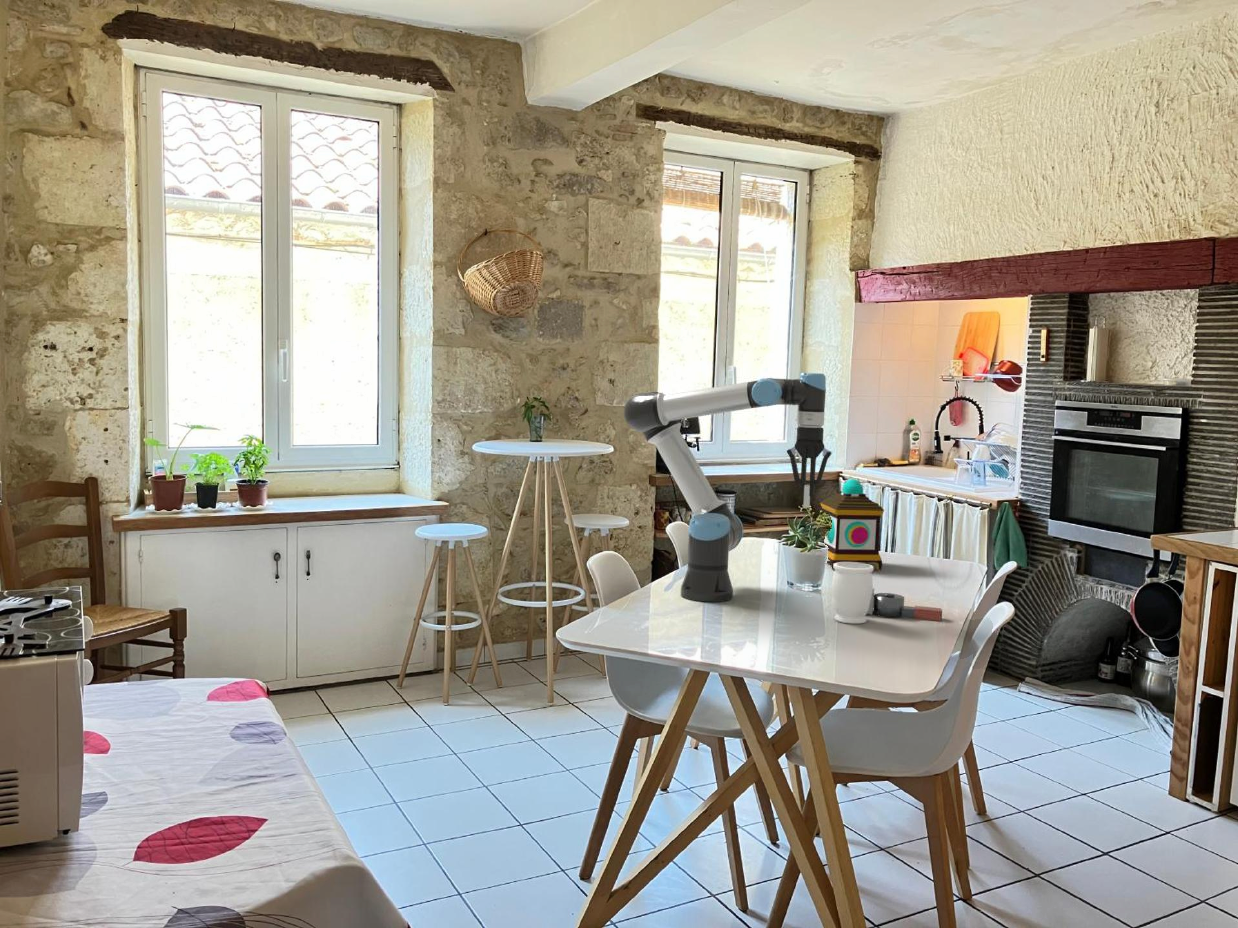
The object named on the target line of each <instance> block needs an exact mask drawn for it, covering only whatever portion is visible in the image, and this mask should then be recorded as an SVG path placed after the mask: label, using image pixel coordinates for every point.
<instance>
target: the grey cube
mask: <svg viewBox="0 0 1238 928" xmlns="http://www.w3.org/2000/svg"><path fill="white" fill-rule="evenodd" d="M873 595H875V588H873V590H872V596H871V600H870V605H869V609H868V611H867V613H866V614H865V615H873V609H874V608H873Z"/></svg>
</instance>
